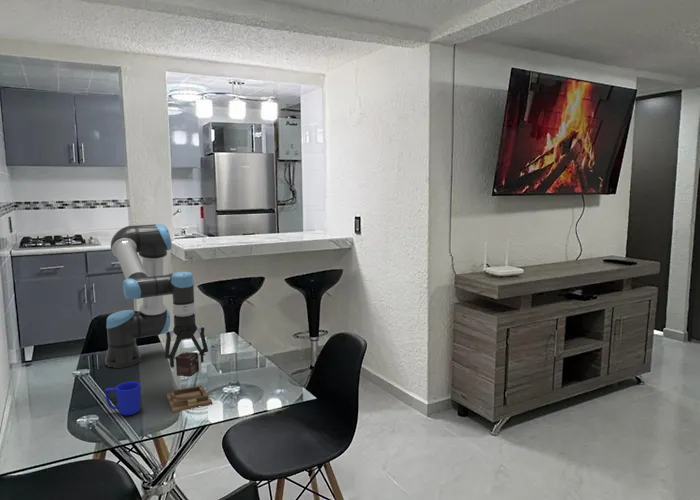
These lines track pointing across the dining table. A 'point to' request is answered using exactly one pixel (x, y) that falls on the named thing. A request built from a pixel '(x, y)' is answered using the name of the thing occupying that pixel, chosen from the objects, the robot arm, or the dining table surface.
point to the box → (187, 364)
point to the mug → (126, 397)
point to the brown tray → (188, 398)
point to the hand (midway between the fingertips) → (187, 373)
